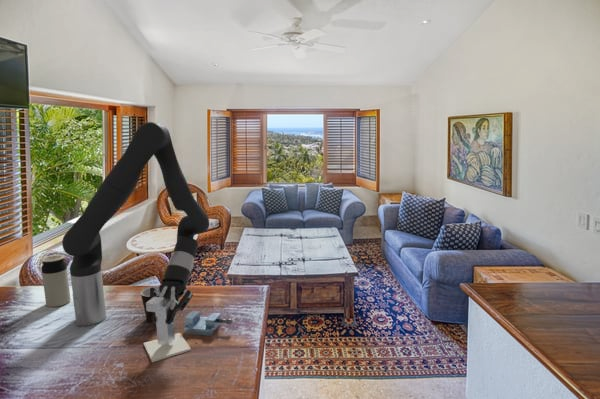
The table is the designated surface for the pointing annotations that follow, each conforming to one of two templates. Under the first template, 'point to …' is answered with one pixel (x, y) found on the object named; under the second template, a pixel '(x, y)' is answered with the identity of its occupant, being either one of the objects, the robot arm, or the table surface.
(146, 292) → the coffee mug
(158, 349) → the felt pad
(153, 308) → the brushed aluminum pillar
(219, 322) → the vise
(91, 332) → the table surface
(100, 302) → the robot arm
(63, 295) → the travel mug
